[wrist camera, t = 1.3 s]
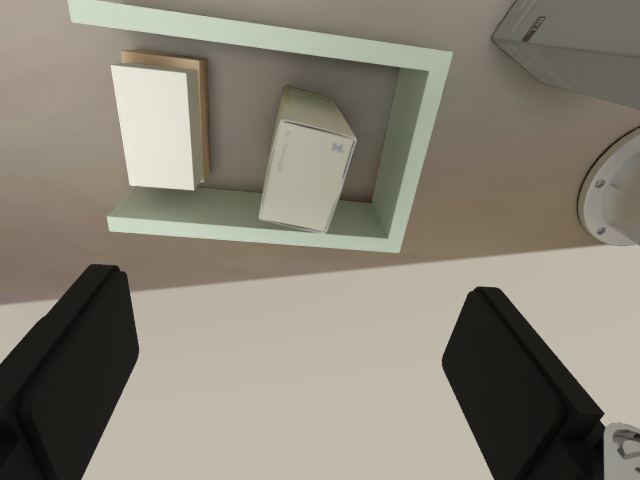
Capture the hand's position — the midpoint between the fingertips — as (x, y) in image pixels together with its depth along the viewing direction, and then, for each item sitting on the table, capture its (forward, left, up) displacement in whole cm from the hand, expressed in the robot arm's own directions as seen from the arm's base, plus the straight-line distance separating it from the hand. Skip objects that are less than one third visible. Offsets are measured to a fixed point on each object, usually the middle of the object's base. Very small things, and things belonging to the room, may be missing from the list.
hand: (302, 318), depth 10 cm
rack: (+2, 0, -24) cm, 24 cm away
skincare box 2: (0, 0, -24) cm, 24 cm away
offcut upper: (+10, 0, -21) cm, 23 cm away
